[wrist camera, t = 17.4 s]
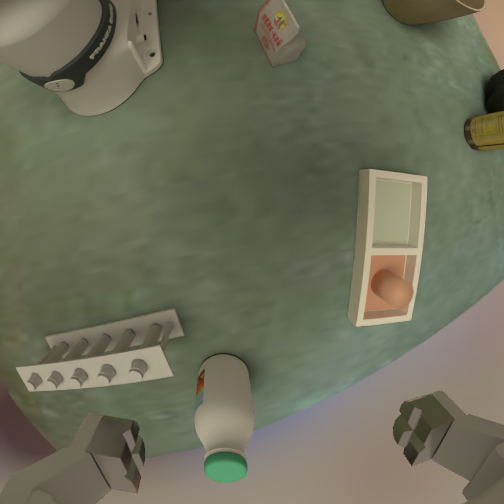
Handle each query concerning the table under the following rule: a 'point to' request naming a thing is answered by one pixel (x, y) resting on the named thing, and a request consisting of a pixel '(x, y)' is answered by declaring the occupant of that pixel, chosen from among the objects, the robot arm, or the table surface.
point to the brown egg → (392, 289)
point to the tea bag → (279, 33)
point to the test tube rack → (118, 361)
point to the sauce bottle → (486, 131)
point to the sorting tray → (386, 241)
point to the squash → (496, 93)
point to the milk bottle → (224, 416)
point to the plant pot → (431, 9)
